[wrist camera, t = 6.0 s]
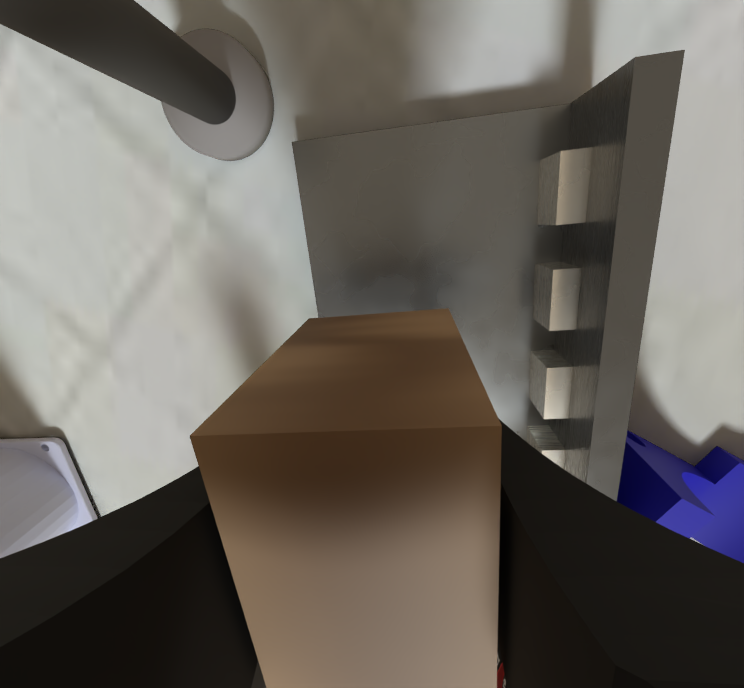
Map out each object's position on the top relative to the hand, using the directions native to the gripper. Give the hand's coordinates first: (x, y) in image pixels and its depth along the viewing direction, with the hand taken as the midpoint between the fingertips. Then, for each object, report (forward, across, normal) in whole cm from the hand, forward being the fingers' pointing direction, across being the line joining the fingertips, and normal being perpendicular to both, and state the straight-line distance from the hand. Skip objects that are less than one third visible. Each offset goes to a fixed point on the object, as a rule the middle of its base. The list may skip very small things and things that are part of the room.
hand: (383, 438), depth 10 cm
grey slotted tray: (+9, -2, 0) cm, 9 cm away
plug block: (+2, 0, 0) cm, 2 cm away
